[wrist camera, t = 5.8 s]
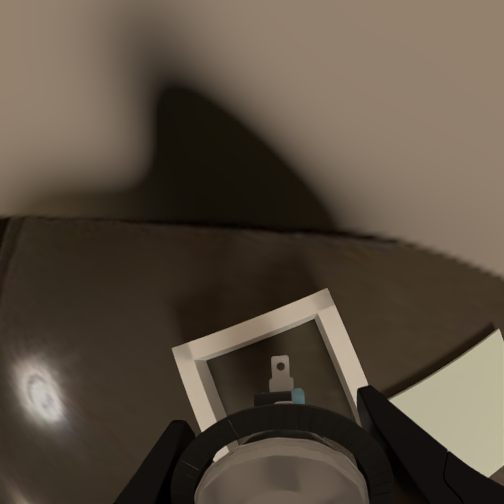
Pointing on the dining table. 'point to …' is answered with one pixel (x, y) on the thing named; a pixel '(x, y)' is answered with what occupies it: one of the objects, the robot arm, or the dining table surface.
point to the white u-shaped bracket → (257, 329)
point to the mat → (464, 405)
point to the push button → (283, 455)
